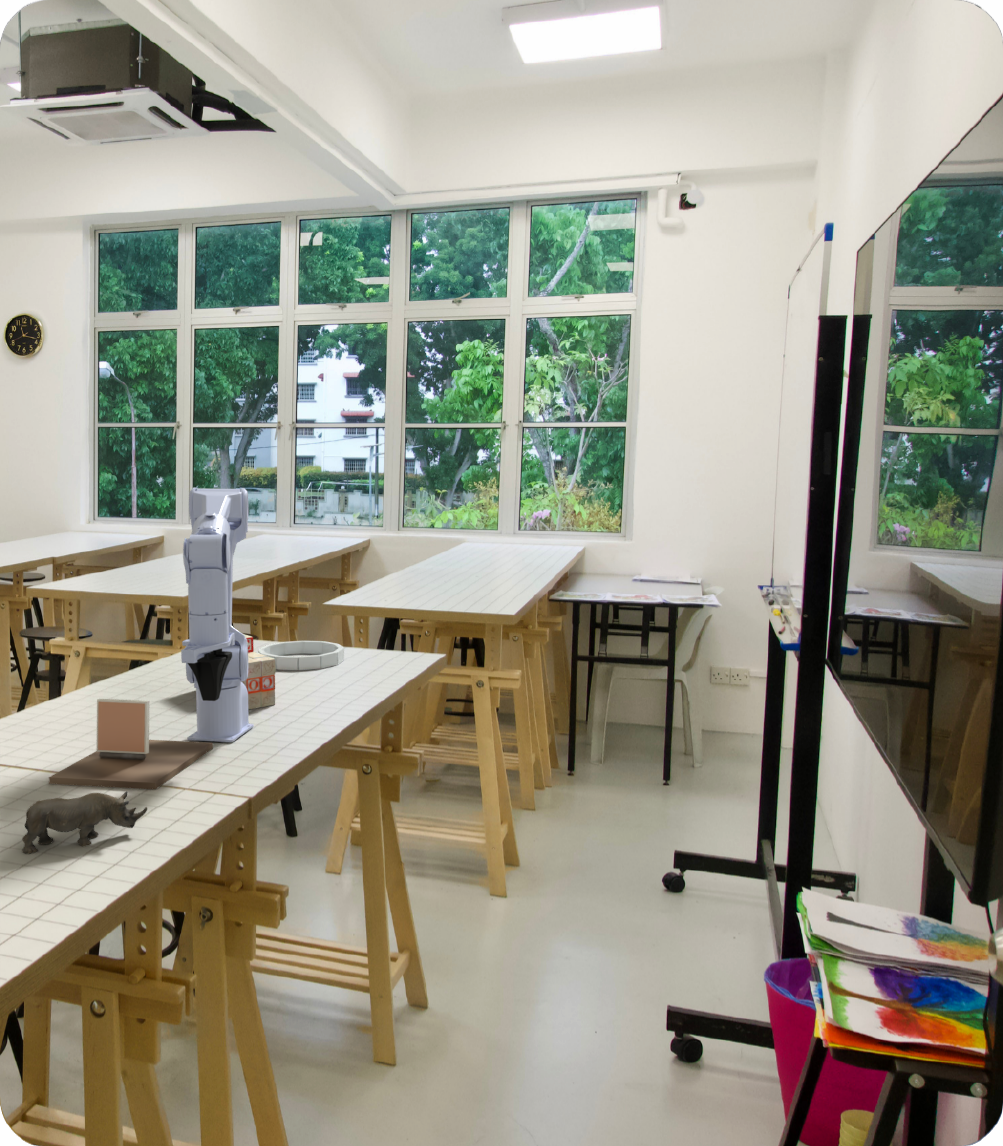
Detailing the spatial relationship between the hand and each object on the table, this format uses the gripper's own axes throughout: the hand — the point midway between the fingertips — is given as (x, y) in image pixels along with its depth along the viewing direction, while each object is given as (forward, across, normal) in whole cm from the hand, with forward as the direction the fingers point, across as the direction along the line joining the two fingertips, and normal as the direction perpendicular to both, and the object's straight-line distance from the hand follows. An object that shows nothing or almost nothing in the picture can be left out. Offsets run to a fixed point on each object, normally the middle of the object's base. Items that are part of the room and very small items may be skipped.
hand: (210, 699), depth 131 cm
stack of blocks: (+10, -38, -12) cm, 41 cm away
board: (+10, +3, -11) cm, 15 cm away
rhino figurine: (+10, +29, -3) cm, 31 cm away
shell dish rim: (+9, -72, -10) cm, 73 cm away
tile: (+4, +2, -13) cm, 14 cm away
